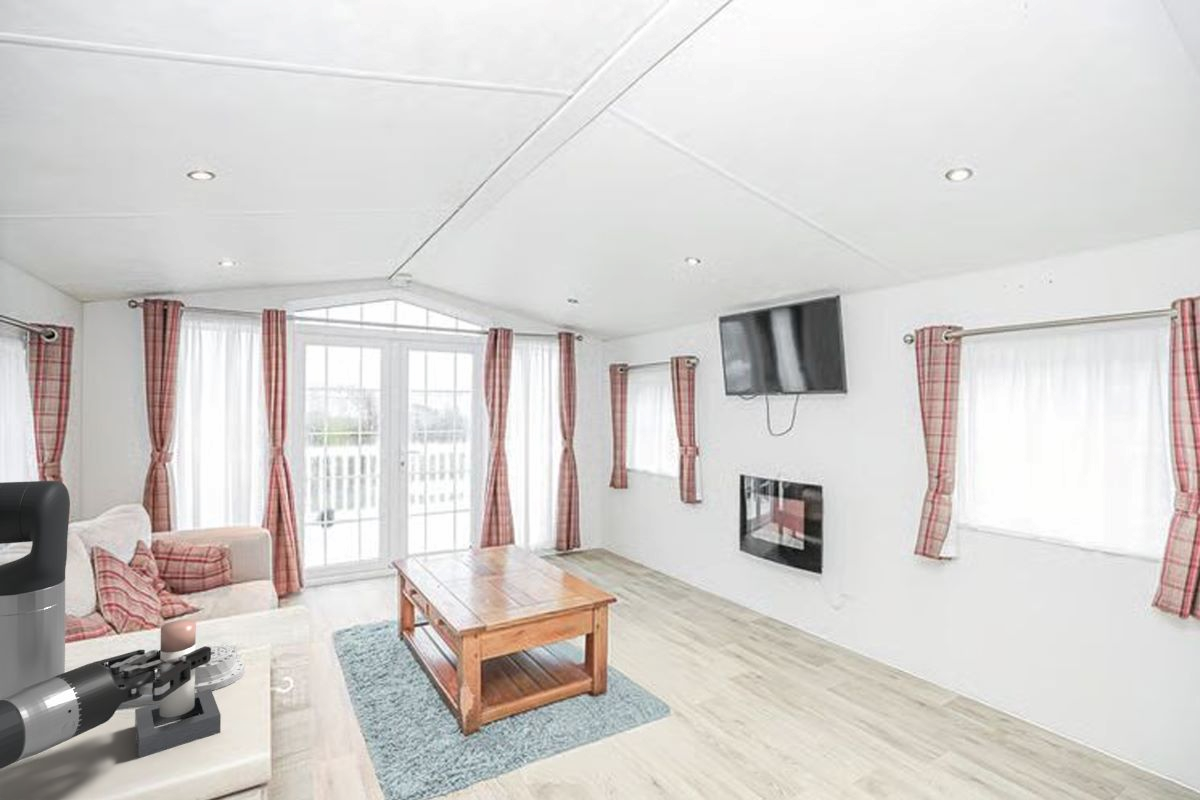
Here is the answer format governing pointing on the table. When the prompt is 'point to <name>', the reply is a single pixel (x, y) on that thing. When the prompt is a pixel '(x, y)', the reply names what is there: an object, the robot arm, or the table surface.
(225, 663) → the mechanical component
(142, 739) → the socket
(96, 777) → the table surface
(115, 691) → the robot arm
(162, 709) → the peg
